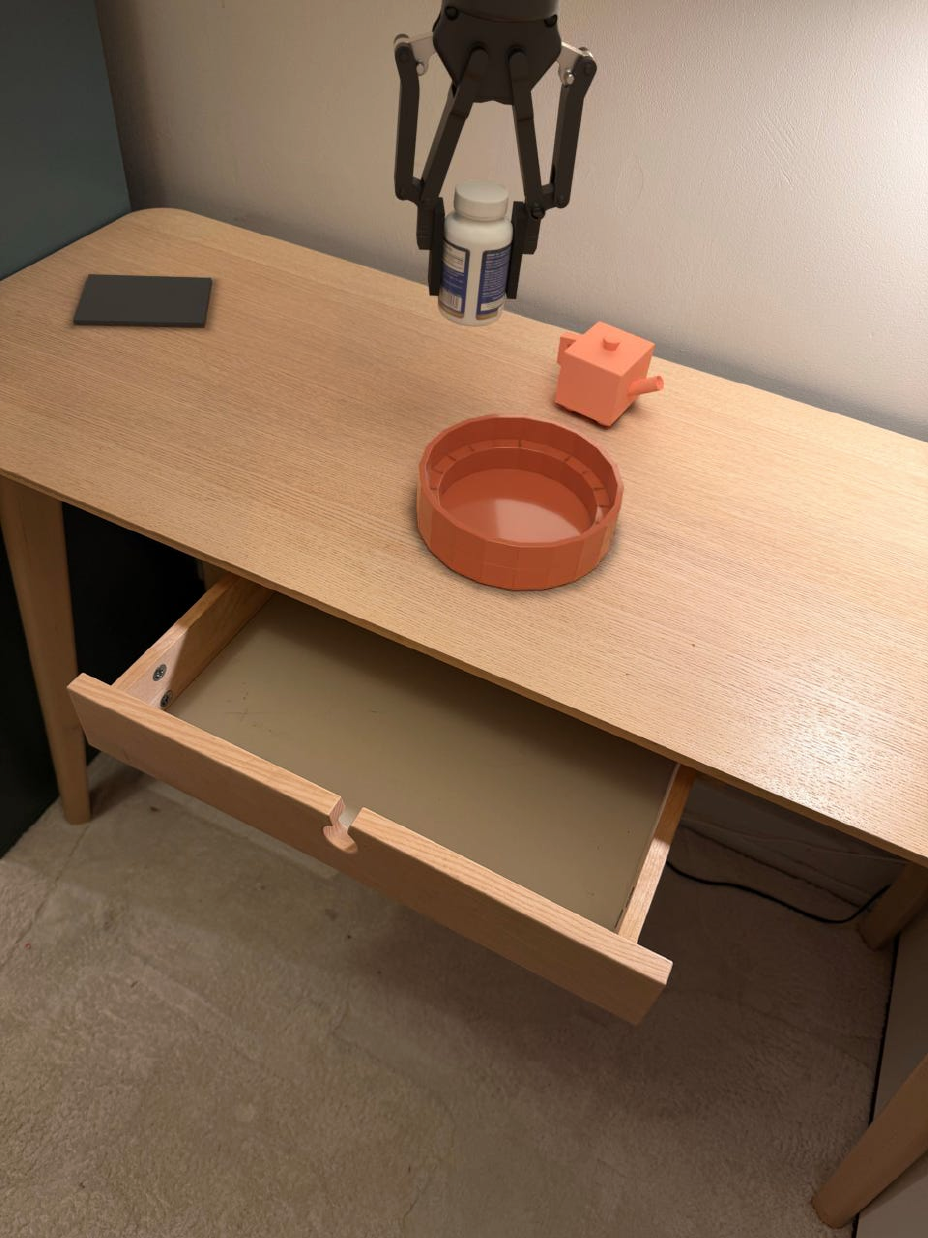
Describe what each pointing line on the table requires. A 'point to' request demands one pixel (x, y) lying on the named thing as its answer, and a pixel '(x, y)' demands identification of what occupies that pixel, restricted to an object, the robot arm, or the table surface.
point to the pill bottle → (475, 254)
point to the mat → (144, 301)
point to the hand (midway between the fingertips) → (471, 288)
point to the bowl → (517, 501)
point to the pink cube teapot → (603, 372)
